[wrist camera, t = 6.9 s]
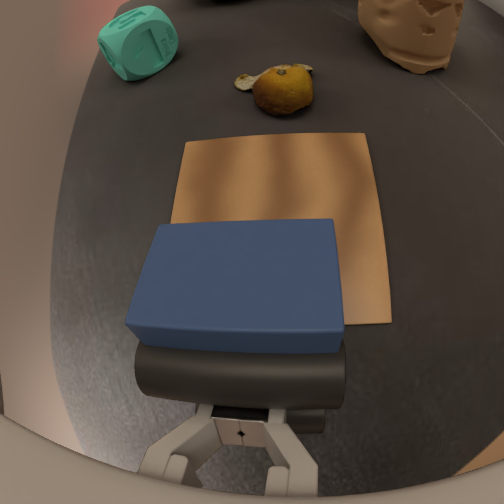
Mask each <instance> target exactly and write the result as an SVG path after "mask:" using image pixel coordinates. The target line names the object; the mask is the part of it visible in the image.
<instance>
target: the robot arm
mask: <svg viewBox="0 0 504 504" xmlns="http://www.w3.org/2000/svg"><path fill="white" fill-rule="evenodd" d="M286 411H287V409H260V408H243V407H229V406H218V405H208V404H200V405H199V408H198V411H197V414H196V416H191V417H190V418H189V419H187V420H186V421H184V422H183V423H182V424H180V425H179V426H178V427H176V428H175V429H174V430H172V431H171V432H169V433H168V434H167V435H165V436H164V437H162V438H161V439H159V440H158V441H157V442H155V443H154V444H152V445H151V446H149V447H148V449H147V451H146V453H145V456H144V458H143V460H142V463H141V465H140V467H139V470H138V472H137V473H134V472H131V471H128V470H125V469H121V468H118V467H115V466H112V465H109V464H107V463H104V462H101V461H98V460H96V459H93V458H90V457H88V456H85V455H83V454H80V453H78V452H75V451H73V450H70V449H68V448H66V447H64V446H61V445H59V444H57V443H55V442H53V441H51V440H49V439H47V438H44V437H43V436H40V435H38V434H37V433H35V432H32V431H31V430H29V429H27V428H25V427H23V426H22V425H20V424H18V423H16V422H15V421H13V420H11V419H9V418H8V417H6V416H4V415H3V414H1V413H0V504H504V459H502V460H500V461H497V462H495V463H492V464H489V465H486V466H484V467H481V468H478V469H475V470H472V471H469V472H466V473H462V474H459V475H456V476H452V477H449V478H445V479H441V480H437V481H433V482H429V483H424V484H420V485H415V486H410V487H405V488H399V489H393V490H387V491H380V492H372V493H364V494H354V495H341V496H320V497H317V490H318V465H317V464H316V462H315V461H314V460H313V458H312V457H311V456H310V454H309V453H308V451H307V450H306V449H305V447H304V446H303V445H302V443H301V442H300V440H299V439H298V438H297V436H296V435H295V433H294V432H293V431H292V429H291V428H290V426H289V425H288V423H286ZM222 444H225V445H238V446H250V447H261V448H266V450H267V452H268V454H269V456H270V457H271V459H272V461H273V463H274V465H275V466H272V467H271V468H269V469H268V475H267V482H266V488H265V494H264V495H251V494H240V493H231V492H224V491H216V490H210V489H204V488H202V484H201V482H200V480H199V478H198V477H197V475H196V473H195V471H196V470H197V469H198V468H199V467H200V466H201V465H202V464H203V463H204V462H206V461H207V460H208V459H209V458H210V457H211V456H212V455H213V454H214V453H215V452H216V451H217V450H218V449H219V448H220V447H221V446H222Z"/></svg>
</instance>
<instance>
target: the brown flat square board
mask: <svg viewBox="0 0 504 504" xmlns="http://www.w3.org/2000/svg"><path fill="white" fill-rule="evenodd" d="M323 218H331V219H333V221H334V227H335V234H336V242H337V251H338V259H339V268H340V278H341V288H342V299H343V311H344V325H363V324H382V323H391V322H392V318H391V301H390V288H389V276H388V266H387V257H386V249H385V241H384V233H383V226H382V219H381V213H380V207H379V201H378V195H377V189H376V184H375V179H374V174H373V169H372V164H371V159H370V155H369V150H368V146H367V141H366V137H365V133H295V134H272V135H255V136H242V137H230V138H220V139H210V140H201V141H193V142H186V145H185V150H184V154H183V159H182V164H181V169H180V174H179V179H178V184H177V189H176V195H175V200H174V206H173V212H172V218H171V224H176V223H196V222H219V221H245V220H277V219H323Z"/></svg>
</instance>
